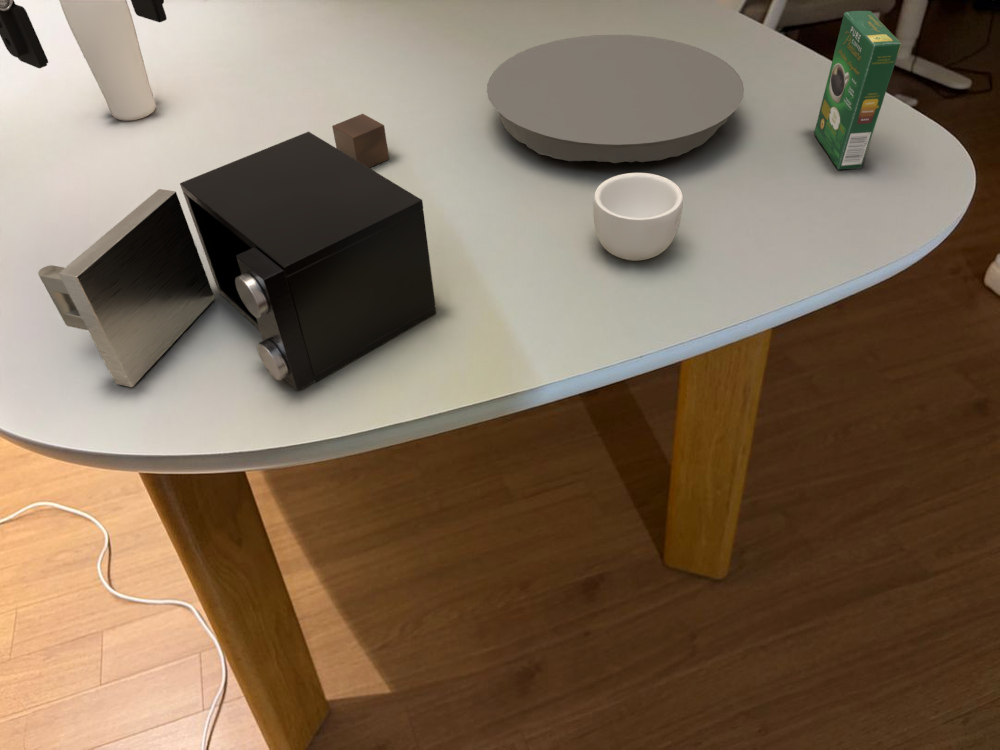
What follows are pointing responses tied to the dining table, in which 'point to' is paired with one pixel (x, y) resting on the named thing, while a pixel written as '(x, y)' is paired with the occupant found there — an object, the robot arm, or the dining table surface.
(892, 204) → the dining table surface
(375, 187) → the microwave
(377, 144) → the block
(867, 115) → the coffee box
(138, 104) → the white tapered cylinder
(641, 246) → the teacup
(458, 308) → the dining table surface
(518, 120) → the flat disc
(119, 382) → the microwave door
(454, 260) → the dining table surface
